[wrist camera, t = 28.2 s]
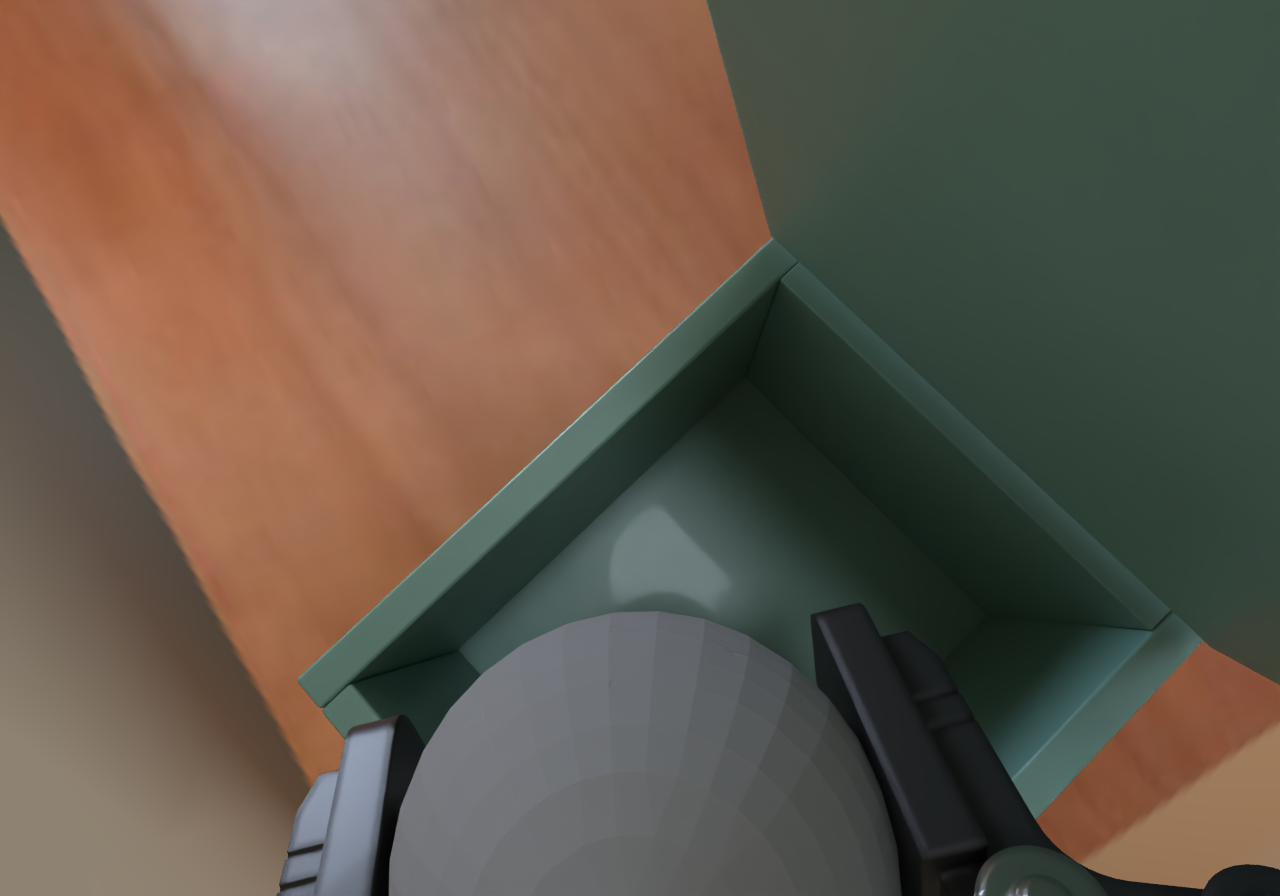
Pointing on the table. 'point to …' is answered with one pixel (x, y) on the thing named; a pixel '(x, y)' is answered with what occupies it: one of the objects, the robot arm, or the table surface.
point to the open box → (782, 537)
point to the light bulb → (644, 775)
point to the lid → (1057, 249)
